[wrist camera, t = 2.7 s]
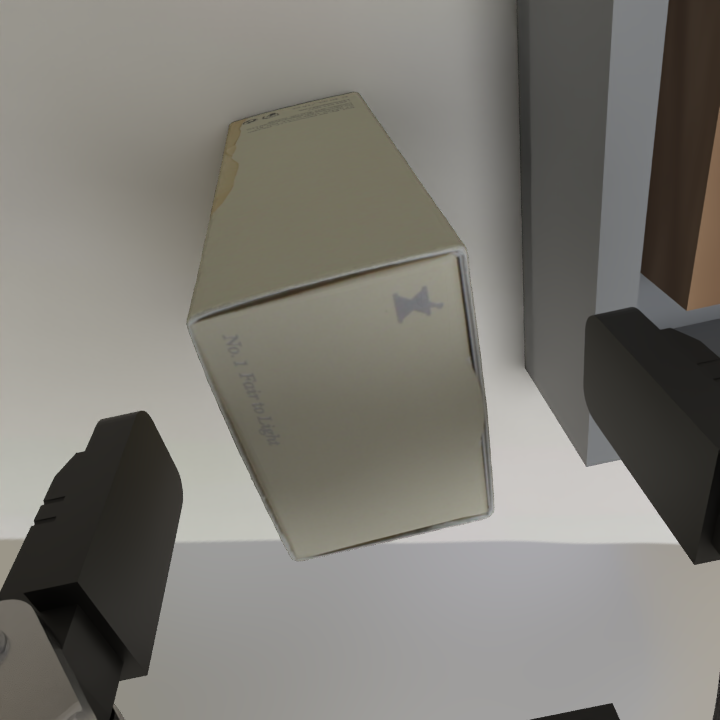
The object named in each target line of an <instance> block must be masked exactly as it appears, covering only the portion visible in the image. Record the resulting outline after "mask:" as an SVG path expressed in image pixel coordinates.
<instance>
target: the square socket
mask: <svg viewBox="0 0 720 720" xmlns="http://www.w3.org/2000/svg"><path fill="white" fill-rule="evenodd" d="M640 273H641V274H643V275H644V276H645V277H646V278H647V279H649V280H650V281H651V282H652V283H653V284H655V285H656V286H657V287H658V288H659V289H661V290H662V291H663V292H664V293H665V294H667V295H668V296H669V297H670V298H671V299H673V300H674V301H675V302H676V303H677V304H679V305H680V306H681V307H682V308H683V309H685V310H686V311H689V310H694V309H699V308H703V307H708V306H713V305H717V304H720V0H669V3H668V12H667V22H666V32H665V41H664V51H663V60H662V70H661V79H660V89H659V99H658V108H657V118H656V127H655V137H654V146H653V156H652V166H651V175H650V185H649V194H648V204H647V213H646V223H645V233H644V242H643V252H642V261H641V271H640Z"/></svg>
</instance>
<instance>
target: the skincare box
mask: <svg viewBox="0 0 720 720" xmlns="http://www.w3.org/2000/svg"><path fill="white" fill-rule="evenodd" d="M187 327H188V331H189V334H190V337H191V339H192V342H193V344H194V347H195V350H196V352H197V355H198V358H199V360H200V362H201V364H202V367H203V369H204V372H205V375H206V378H207V381H208V383H209V385H210V387H211V390H212V392H213V394H214V396H215V399H216V401H217V404H218V406H219V408H220V411H221V413H222V415H223V417H224V419H225V421H226V424H227V426H228V429H229V431H230V433H231V435H232V438H233V440H234V442H235V444H236V447H237V449H238V451H239V453H240V455H241V457H242V459H243V461H244V463H245V465H246V467H247V470H248V472H249V474H250V476H251V479H252V481H253V482H254V485H255V487H256V489H257V491H258V493H259V495H260V497H261V499H262V501H263V503H264V506H265V508H266V510H267V512H268V514H269V516H270V518H271V519H272V521H273V524H274V526H275V528H276V530H277V532H278V534H279V536H280V538H281V541H282V542H283V544H284V546H285V548H286V550H287V551H288V553H289V555H290V557H291V559H292V560H294V561H305V560H309V559H313V558H318V557H323V556H327V555H330V554H335V553H338V552H343V551H348V550H353V549H358V548H362V547H367V546H372V545H376V544H379V543H385V542H390V541H393V540H397V539H401V538H406V537H411V536H415V535H420V534H424V533H427V532H431V531H436V530H440V529H444V528H448V527H453V526H458V525H462V524H466V523H470V522H474V521H479V520H483V519H485V518H488V517H490V516H491V515H492V514H493V513H494V493H493V477H492V466H491V452H490V439H489V427H488V414H487V404H486V396H485V388H484V380H483V372H482V362H481V354H480V347H479V339H478V331H477V323H476V315H475V308H474V301H473V292H472V287H471V280H470V271H469V261H468V254H467V250H466V247H465V245H464V244H463V243H462V241H461V240H460V239H459V237H458V236H457V234H456V233H455V231H454V230H453V228H452V227H451V225H450V224H449V223H448V221H447V219H446V218H445V217H444V215H443V214H442V212H441V211H440V210H439V208H438V207H437V206H436V204H435V203H434V201H433V200H432V198H431V197H430V195H429V194H428V193H427V191H426V190H425V188H424V187H423V185H422V184H421V182H420V181H419V180H418V178H417V177H416V175H415V174H414V172H413V171H412V169H411V168H410V167H409V165H408V164H407V162H406V161H405V159H404V158H403V156H402V155H401V153H400V152H399V151H398V150H397V148H396V147H395V145H394V143H393V142H392V141H391V139H390V137H389V136H388V135H387V133H386V132H385V130H384V129H383V127H382V126H381V124H380V123H379V122H378V120H377V119H376V118H375V116H374V115H373V113H372V112H371V110H370V109H369V107H368V106H367V104H366V103H365V101H364V100H363V99H362V97H361V96H360V94H359V93H356V92H353V93H348V94H344V95H339V96H335V97H330V98H326V99H321V100H317V101H312V102H308V103H304V104H299V105H296V106H292V107H287V108H283V109H279V110H275V111H271V112H268V113H264V114H260V115H257V116H254V117H250V118H246V119H243V120H239V121H236V122H233V123H231V124H230V125H229V129H228V134H227V139H226V144H225V148H224V154H223V159H222V164H221V169H220V173H219V178H218V183H217V187H216V191H215V196H214V201H213V206H212V210H211V216H210V220H209V224H208V229H207V234H206V238H205V242H204V247H203V252H202V257H201V261H200V266H199V270H198V275H197V281H196V284H195V288H194V292H193V297H192V301H191V305H190V310H189V314H188V317H187Z"/></svg>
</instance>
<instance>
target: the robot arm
mask: <svg viewBox="0 0 720 720" xmlns="http://www.w3.org/2000/svg"><path fill="white" fill-rule="evenodd" d="M583 390H584V397H585V401H586V404H587V407H588V410H589V412H590V415H591V416H592V418H593V420H594V421H595V423H596V424H597V426H598V427H599V428H600V430H601V431H602V433H603V434H604V436H605V437H606V439H607V440H608V441H609V443H610V444H611V446H612V447H613V449H614V450H615V452H616V453H617V454H618V456H619V457H620V459H621V460H622V462H623V463H624V464H625V466H626V467H627V469H628V470H629V472H630V473H631V475H632V476H633V477H634V479H635V480H636V482H637V483H638V485H639V486H640V487H641V489H642V490H643V492H644V493H645V495H646V496H647V498H648V499H649V500H650V502H651V503H652V505H653V506H654V508H655V509H656V510H657V512H658V513H659V515H660V516H661V518H662V519H663V521H664V522H665V523H666V525H667V526H668V528H669V529H670V531H671V532H672V534H673V535H674V536H675V538H676V539H677V541H678V542H679V544H680V545H681V546H682V548H683V549H684V551H685V552H686V554H687V555H688V557H689V558H690V559H691V561H692V562H693V564H694V565H696V564H701V563H705V562H711V561H716V560H720V357H718V356H717V355H716V354H715V353H714V352H713V351H711V350H710V349H709V348H708V347H707V346H706V345H705V344H703V343H702V342H701V341H700V340H698V339H695V338H693V337H691V336H689V335H686V334H684V333H682V332H679V331H677V330H675V329H673V328H666V329H661V330H660V329H659V328H658V327H657V326H656V325H655V324H654V323H653V322H652V321H650V320H649V319H648V318H647V317H646V316H645V315H644V314H643V313H642V312H641V311H640V310H639V309H637V308H635V307H629V308H624V309H619V310H615V311H610V312H605V313H601V314H596V315H592V316H589V317H588V319H587V321H586V325H585V346H584V376H583ZM43 501H44V505H41V507H40V509H39V511H38V513H37V515H36V517H35V519H34V523H35V525H34V526H31V528H30V530H29V532H28V534H27V536H26V538H25V540H24V543H23V545H22V547H21V549H20V551H19V553H18V555H17V558H16V559H15V562H14V564H13V566H12V568H11V570H10V572H9V574H8V576H7V578H6V581H5V583H4V585H3V587H2V589H1V591H0V720H125V719H124V717H123V716H122V714H121V712H120V711H119V709H118V708H117V706H116V705H115V704H114V700H115V696H116V691H117V688H118V683H119V681H122V680H126V679H131V678H136V677H141V676H146V675H147V674H148V670H149V665H150V660H151V655H152V650H153V645H154V640H155V635H156V631H157V625H158V621H159V615H160V611H161V606H162V601H163V596H164V592H165V587H166V582H167V577H168V572H169V567H170V562H171V558H172V552H173V548H174V543H175V538H176V533H177V528H178V523H179V519H180V514H181V509H182V503H183V489H182V483H181V479H180V475H179V472H178V470H177V468H176V466H175V464H174V462H173V460H172V458H171V456H170V454H169V452H168V450H167V448H166V446H165V444H164V442H163V440H162V438H161V436H160V434H159V432H158V430H157V428H156V426H155V424H154V422H153V420H152V419H151V417H150V416H149V414H148V413H147V412H145V411H138V412H133V413H129V414H124V415H119V416H115V417H110V418H105V419H102V420H100V421H99V422H98V423H97V425H96V427H95V429H94V432H93V434H92V436H91V439H90V441H89V443H88V445H87V448H86V450H85V451H84V452H79V453H76V454H75V455H74V456H73V457H72V458H71V459H70V461H69V462H68V463H67V464H66V465H65V466H64V467H63V468H62V469H61V470H60V471H59V473H58V474H57V475H56V476H55V477H54V479H53V482H52V484H51V486H50V488H49V490H48V492H47V494H46V496H45V498H44V500H43ZM531 720H620V719H619V717H618V715H617V712H616V710H615V708H614V706H613V704H612V703H611V704H606V705H600V706H595V707H591V708H586V709H581V710H576V711H571V712H566V713H561V714H556V715H551V716H546V717H541V718H536V719H531ZM713 720H720V675H719V684H718V691H717V698H716V704H715V710H714V715H713Z"/></svg>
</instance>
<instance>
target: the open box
mask: <svg viewBox="0 0 720 720" xmlns="http://www.w3.org/2000/svg"><path fill="white" fill-rule="evenodd" d="M668 3H669V0H517V22H518V66H519V111H520V156H521V200H522V245H523V289H524V334H525V369H526V370H527V372H528V374H529V375H530V377H531V378H532V380H533V382H534V383H535V385H536V386H537V388H538V390H539V391H540V393H541V395H542V396H543V398H544V399H545V401H546V403H547V404H548V406H549V407H550V409H551V411H552V412H553V414H554V415H555V417H556V419H557V420H558V422H559V424H560V425H561V427H562V428H563V430H564V432H565V433H566V435H567V436H568V438H569V440H570V441H571V443H572V444H573V446H574V448H575V449H576V451H577V453H578V454H579V456H580V457H581V459H582V461H583V462H584V464H585V465H586V467H588V466H593V465H598V464H602V463H607V462H612V461H616V460H621V459H620V457H619V456H618V454H617V453H616V452H615V450H614V449H613V447H612V446H611V444H610V443H609V441H608V440H607V439H606V437H605V436H604V434H603V433H602V431H601V430H600V428H599V427H598V426H597V424H596V423H595V421H594V420H593V418H592V416H591V415H590V412H589V410H588V407H587V404H586V401H585V397H584V390H583V376H584V346H585V325H586V321H587V319H588V317H589V316H592V315H596V314H601V313H605V312H610V311H615V310H619V309H624V308H629V307H635V308H637V309H639V310H640V311H641V312H642V313H643V314H644V315H645V316H646V317H647V318H648V319H649V320H650V321H652V322H653V323H654V324H655V325H656V326H657V327H658V328H659V329H660V330H661V329H666V328H673V329H675V330H677V331H679V332H682V333H684V334H686V335H689V336H691V337H693V338H695V339H698V340H700V341H701V342H702V343H703V344H705V345H706V346H707V347H708V348H709V349H710V350H711V351H713V352H714V353H715V354H716V355H717V356H718V357H720V304H717V305H713V306H708V307H703V308H699V309H694V310H689V311H686V310H685V309H683V308H682V307H681V306H680V305H679V304H677V303H676V302H675V301H674V300H673V299H671V298H670V297H669V296H668V295H667V294H665V293H664V292H663V291H662V290H661V289H659V288H658V287H657V286H656V285H655V284H653V283H652V282H651V281H650V280H649V279H647V278H646V277H645V276H644V275H643V274H641V273H640V271H641V261H642V252H643V242H644V233H645V223H646V213H647V204H648V194H649V185H650V175H651V166H652V156H653V146H654V137H655V127H656V118H657V108H658V99H659V89H660V79H661V70H662V60H663V51H664V41H665V32H666V22H667V12H668Z"/></svg>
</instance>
